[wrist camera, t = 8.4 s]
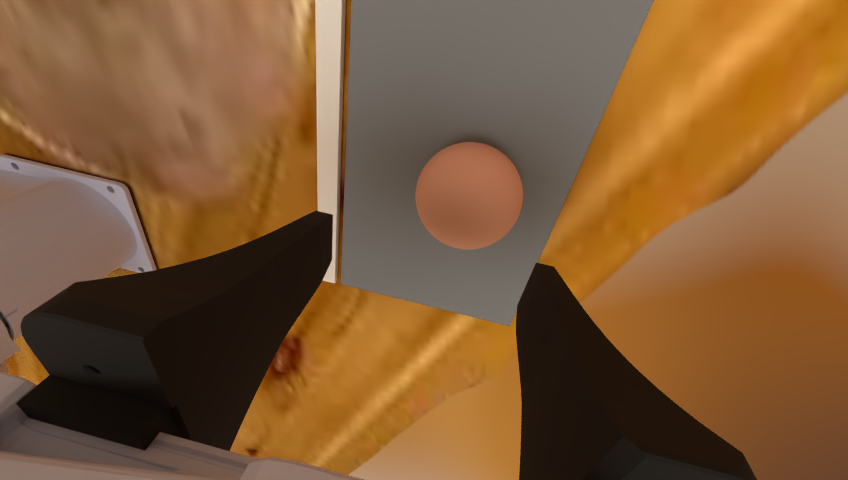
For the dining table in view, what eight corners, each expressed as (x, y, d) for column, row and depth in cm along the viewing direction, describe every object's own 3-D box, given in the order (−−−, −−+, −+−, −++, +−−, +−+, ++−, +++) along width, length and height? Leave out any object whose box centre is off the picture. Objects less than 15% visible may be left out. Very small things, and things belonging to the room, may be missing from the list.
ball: (400, 212, 20) (419, 273, 16) (413, 121, 17) (441, 168, 13) (484, 214, 21) (521, 270, 17) (510, 130, 18) (560, 174, 14)
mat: (321, 274, 26) (318, 279, 25) (319, -106, 14) (314, -110, 14) (509, 321, 25) (509, 327, 24) (668, -41, 13) (673, -42, 13)
